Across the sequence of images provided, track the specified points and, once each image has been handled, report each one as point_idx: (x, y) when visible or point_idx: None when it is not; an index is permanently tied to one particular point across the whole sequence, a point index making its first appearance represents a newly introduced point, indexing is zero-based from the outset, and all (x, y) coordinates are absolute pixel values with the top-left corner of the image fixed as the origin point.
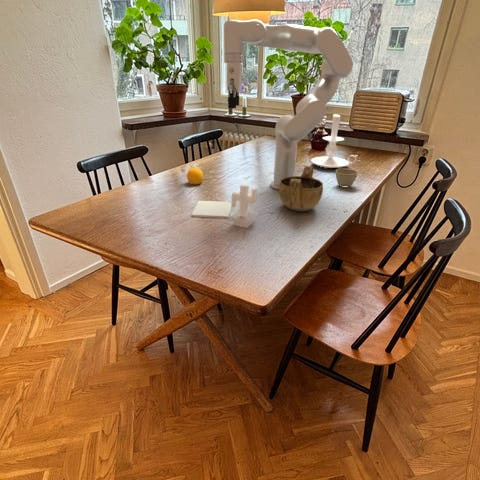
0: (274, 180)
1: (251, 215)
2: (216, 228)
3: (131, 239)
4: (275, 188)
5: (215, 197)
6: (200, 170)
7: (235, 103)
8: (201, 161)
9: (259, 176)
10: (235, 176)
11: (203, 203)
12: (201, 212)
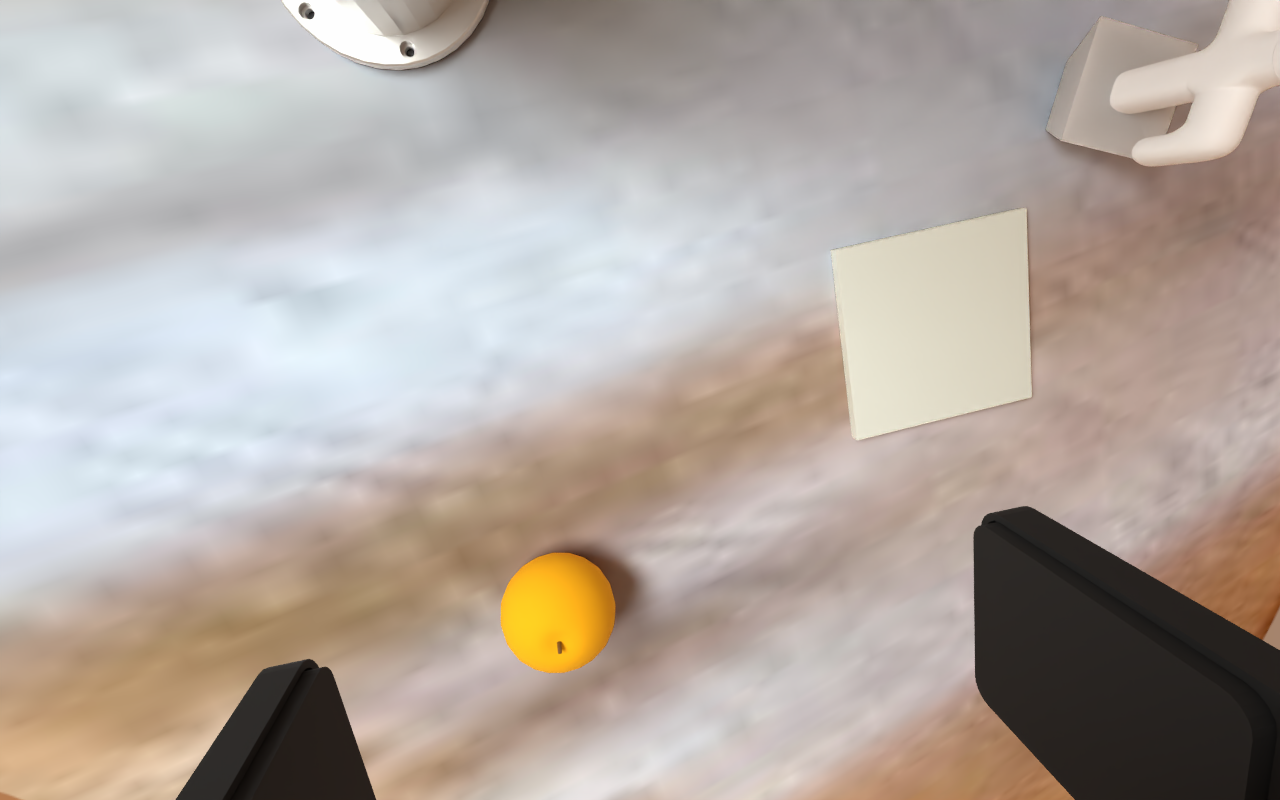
0: (424, 11)
1: (1129, 45)
2: (1132, 229)
3: (1238, 518)
4: (486, 5)
5: (757, 379)
6: (547, 603)
7: (1119, 573)
8: (47, 768)
9: (214, 208)
10: (306, 395)
11: (889, 400)
12: (1000, 362)
